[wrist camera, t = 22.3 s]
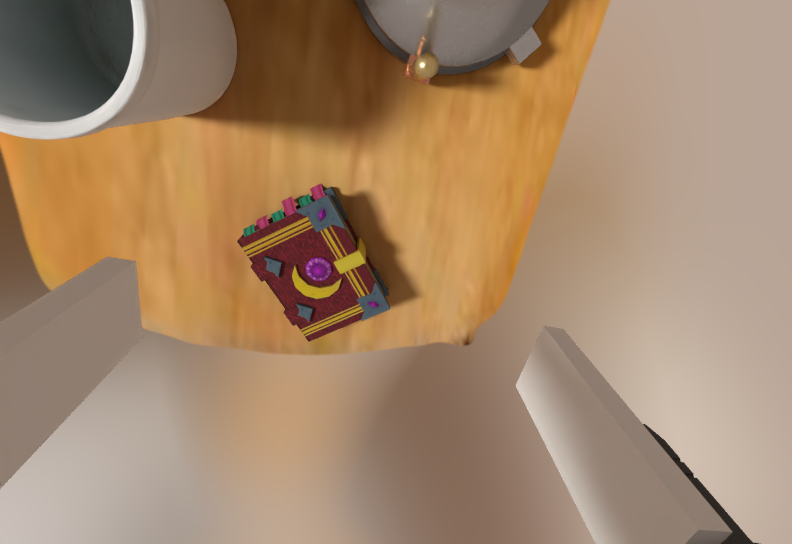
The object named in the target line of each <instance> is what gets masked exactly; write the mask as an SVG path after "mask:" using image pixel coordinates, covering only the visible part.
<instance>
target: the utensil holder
mask: <svg viewBox="0 0 792 544" xmlns="http://www.w3.org/2000/svg"><path fill="white" fill-rule="evenodd" d="M236 60H237V40H236V34H235V29H234V25H233V21H232V18H231V15H230V12H229V10H228V8H227V5H226V3H225V1H224V0H0V132H3V133H6V134H10V135H14V136H19V137H25V138H32V139H67V138H75V137H82V136H86V135H90V134H93V133H97V132H99V131H102V130H104V129H107V128H111V127H118V126H125V125H131V124H138V123H145V122H152V121H159V120H165V119H171V118H175V117H180V116H185V115H189V114H193V113H197V112H200V111H202V110H204V109H206V108H208V107H209V106H211V105H212V104H213V103H215V102H216V101H217V100H218V99H219V98H220V97H221V96H222V94H223V93H224V92H225V91H226V89H227V88H228V86H229V84H230V82H231V79H232V77H233V74H234V70H235V66H236Z"/></svg>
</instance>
